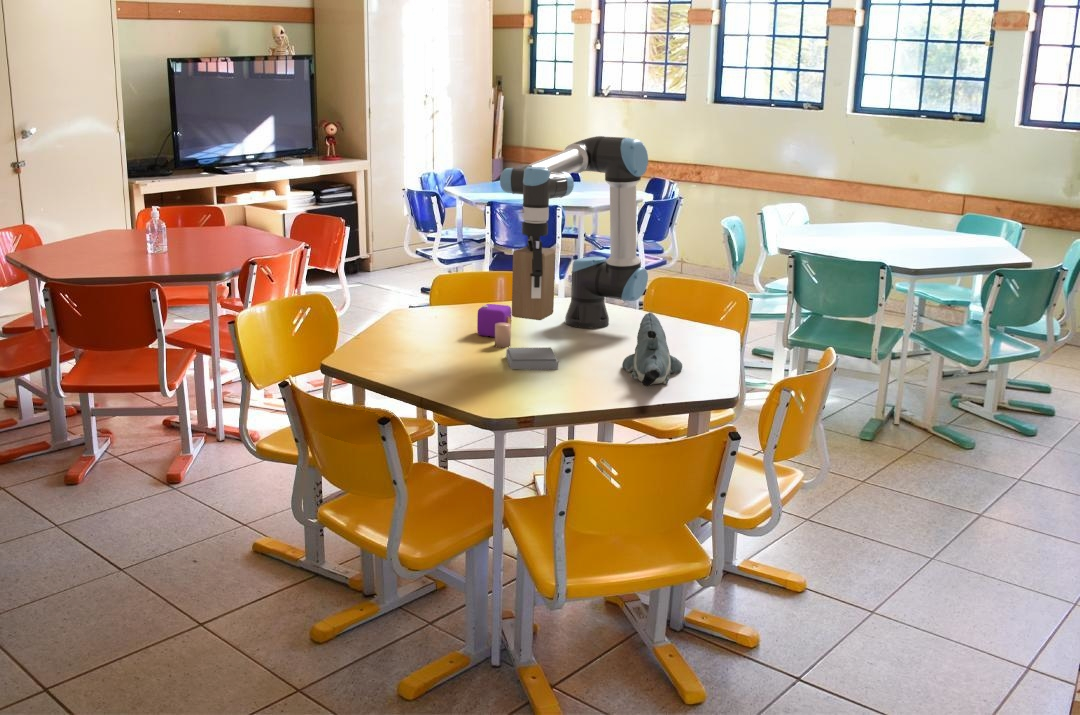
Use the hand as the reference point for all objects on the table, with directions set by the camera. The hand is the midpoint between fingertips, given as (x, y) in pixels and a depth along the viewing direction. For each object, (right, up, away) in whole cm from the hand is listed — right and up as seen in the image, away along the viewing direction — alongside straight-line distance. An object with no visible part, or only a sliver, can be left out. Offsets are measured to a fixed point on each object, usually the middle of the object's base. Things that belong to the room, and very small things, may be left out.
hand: (533, 293), depth 310 cm
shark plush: (+32, -26, -9) cm, 42 cm away
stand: (-1, -21, +6) cm, 21 cm away
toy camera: (-13, -11, +39) cm, 43 cm away
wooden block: (0, -7, +2) cm, 7 cm away
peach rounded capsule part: (-10, -15, +24) cm, 30 cm away
